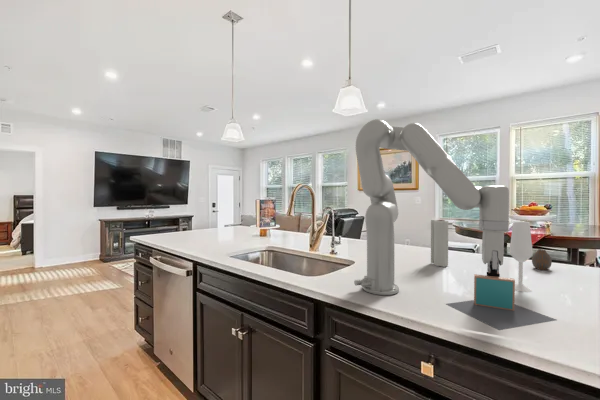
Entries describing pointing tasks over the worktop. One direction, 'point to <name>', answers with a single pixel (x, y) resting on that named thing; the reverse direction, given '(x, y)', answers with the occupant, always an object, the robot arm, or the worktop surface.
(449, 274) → the worktop surface
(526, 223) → the champagne flute
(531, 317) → the mat
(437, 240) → the grey tall block
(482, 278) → the tile
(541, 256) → the patterned egg
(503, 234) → the robot arm
